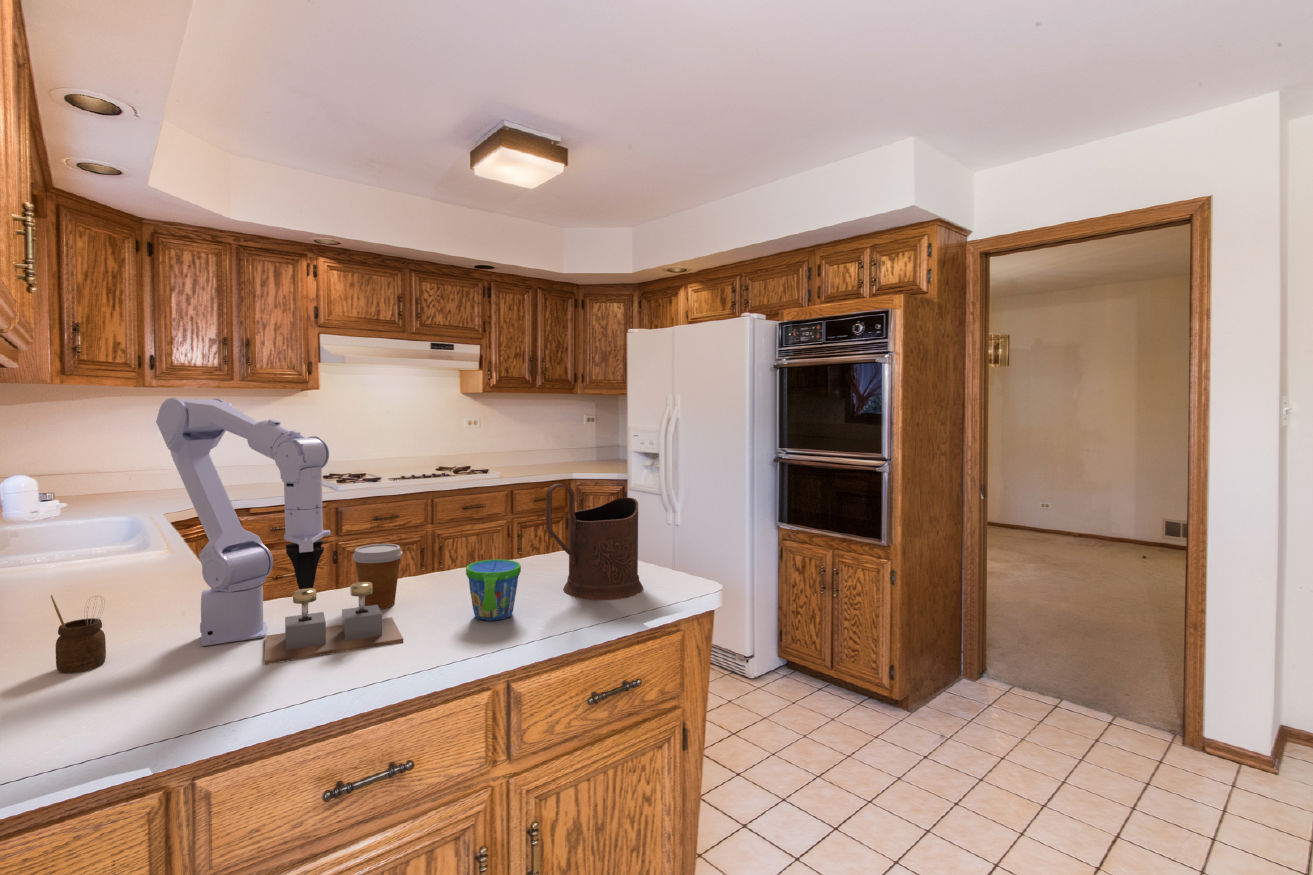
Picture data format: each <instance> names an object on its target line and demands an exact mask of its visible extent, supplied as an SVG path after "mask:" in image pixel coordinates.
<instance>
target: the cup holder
mask: <svg viewBox="0 0 1313 875" xmlns="http://www.w3.org/2000/svg"><path fill="white" fill-rule="evenodd" d="M558 488H563V489H565V490H566V491H567V492H568V515H569V516H568V544H569V545H568V546H567V545H566V544H565V543H564V542H563V540H561V538H560V537H559V536H558V535H557V534H556V533H555V531H553V528H552V516H553V515H552V508H553V492H554V491H555V490H556V489H558ZM575 497H576V496H575V492H574V489H573V488H572V487H571V486H569V485H566V484H562V483H554V484H552V485H551V486H549V487H548V488H547V489H546V493H545V529H546V532H547V534H549V536H551V538H552V539H553V540H554V541H555V542H556V543H557V544H558V545H559V546H560V547H561V549H563V551H564V552H565V553H566V554H567V555H568V575H567V579H566V580H567V581H566V583H565V584H564V586H563V588H562V591H563V593H565V594H566V595H567V596H570V597H572V598H576V599H582V600H587V601H589V600H590V601H612V600H613V601H614V600H622V599H628V598H632V597H634V596H637V595H639V594H641V593H642V592H643V591H644V586H643V584H642V582H641V581H640V575H639V574H638V573H639V570H638V568H639V565H638V564H639V561H638V560H639V556H638V555H639V502H638V500H637V499H635V498H633V497H627V496H626V497H625V496H623V497H618V498H616V499H613V500H611V501H608V502H606V503H604V504H602V505H599V506H596V507H593V508H592V507H591V508H586V509H580V510H576V509H575V505H576V502H575V500H576V499H575ZM575 510H576V511H575Z"/></svg>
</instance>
